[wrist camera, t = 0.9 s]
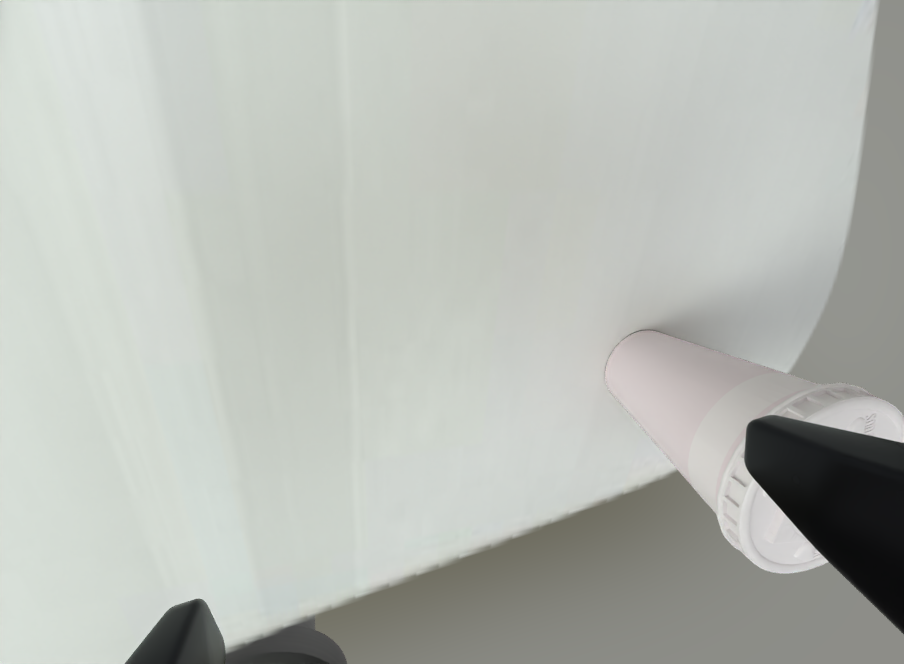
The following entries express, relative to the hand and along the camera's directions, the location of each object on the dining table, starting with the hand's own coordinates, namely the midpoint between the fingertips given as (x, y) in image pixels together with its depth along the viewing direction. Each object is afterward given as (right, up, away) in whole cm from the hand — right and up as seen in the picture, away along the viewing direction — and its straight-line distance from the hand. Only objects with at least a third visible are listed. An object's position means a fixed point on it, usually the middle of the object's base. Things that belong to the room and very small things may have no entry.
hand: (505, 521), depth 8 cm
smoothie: (+8, +1, +16) cm, 18 cm away
